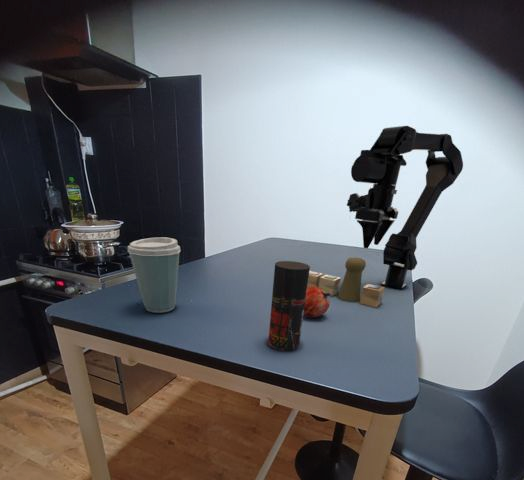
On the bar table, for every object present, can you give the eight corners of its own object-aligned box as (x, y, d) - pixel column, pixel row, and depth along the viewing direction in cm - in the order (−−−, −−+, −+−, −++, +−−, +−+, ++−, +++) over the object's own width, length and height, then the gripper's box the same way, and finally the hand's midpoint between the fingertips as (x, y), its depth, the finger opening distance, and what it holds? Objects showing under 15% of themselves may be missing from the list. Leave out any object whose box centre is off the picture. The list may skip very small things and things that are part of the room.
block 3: (364, 299, 89) (368, 283, 86) (380, 303, 86) (385, 286, 84) (359, 303, 85) (363, 286, 83) (375, 307, 83) (380, 290, 81)
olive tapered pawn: (360, 302, 86) (369, 261, 81) (338, 299, 87) (345, 259, 81) (359, 296, 91) (367, 257, 86) (337, 293, 92) (344, 254, 87)
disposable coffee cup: (151, 320, 66) (143, 246, 59) (125, 306, 72) (116, 237, 65) (192, 309, 73) (190, 242, 66) (166, 297, 79) (161, 234, 72)
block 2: (324, 289, 95) (326, 273, 92) (338, 292, 92) (341, 277, 90) (317, 292, 91) (320, 276, 89) (331, 296, 89) (334, 279, 87)
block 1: (307, 285, 97) (309, 270, 95) (321, 288, 95) (323, 273, 93) (300, 288, 94) (302, 272, 92) (314, 291, 92) (316, 275, 89)
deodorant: (266, 336, 63) (273, 260, 56) (296, 337, 64) (305, 262, 57) (269, 350, 58) (277, 268, 51) (301, 351, 58) (313, 270, 51)
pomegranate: (290, 325, 74) (322, 311, 67) (282, 296, 75) (312, 278, 67) (311, 322, 79) (343, 308, 72) (303, 294, 80) (333, 278, 72)
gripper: (366, 184, 94) (355, 239, 101) (342, 181, 80) (331, 245, 87) (405, 186, 88) (390, 244, 95) (386, 184, 74) (371, 252, 82)
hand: (371, 246), depth 90 cm, fingers open, 9 cm apart
